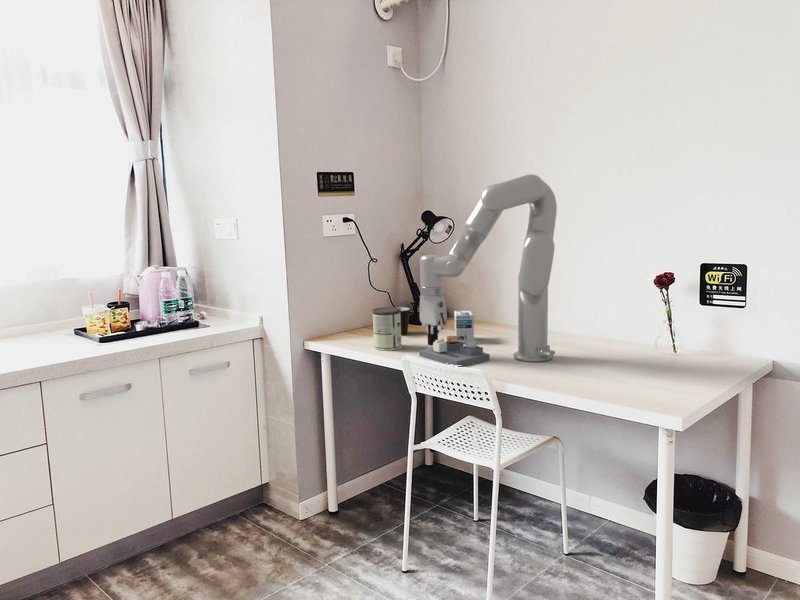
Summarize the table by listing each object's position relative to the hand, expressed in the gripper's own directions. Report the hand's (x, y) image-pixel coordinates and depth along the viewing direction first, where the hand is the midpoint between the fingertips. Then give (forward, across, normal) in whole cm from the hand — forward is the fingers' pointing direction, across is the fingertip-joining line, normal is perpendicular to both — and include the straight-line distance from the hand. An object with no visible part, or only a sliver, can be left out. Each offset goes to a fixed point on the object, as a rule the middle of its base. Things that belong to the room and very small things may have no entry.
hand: (432, 344), depth 230 cm
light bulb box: (+4, +11, -23) cm, 26 cm away
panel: (+4, -7, -4) cm, 9 cm away
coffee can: (+4, +21, +5) cm, 22 cm away
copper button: (+1, -2, -7) cm, 7 cm away
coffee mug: (+4, +37, -11) cm, 39 cm away
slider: (+2, -4, 0) cm, 4 cm away
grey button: (+1, -12, -7) cm, 14 cm away
